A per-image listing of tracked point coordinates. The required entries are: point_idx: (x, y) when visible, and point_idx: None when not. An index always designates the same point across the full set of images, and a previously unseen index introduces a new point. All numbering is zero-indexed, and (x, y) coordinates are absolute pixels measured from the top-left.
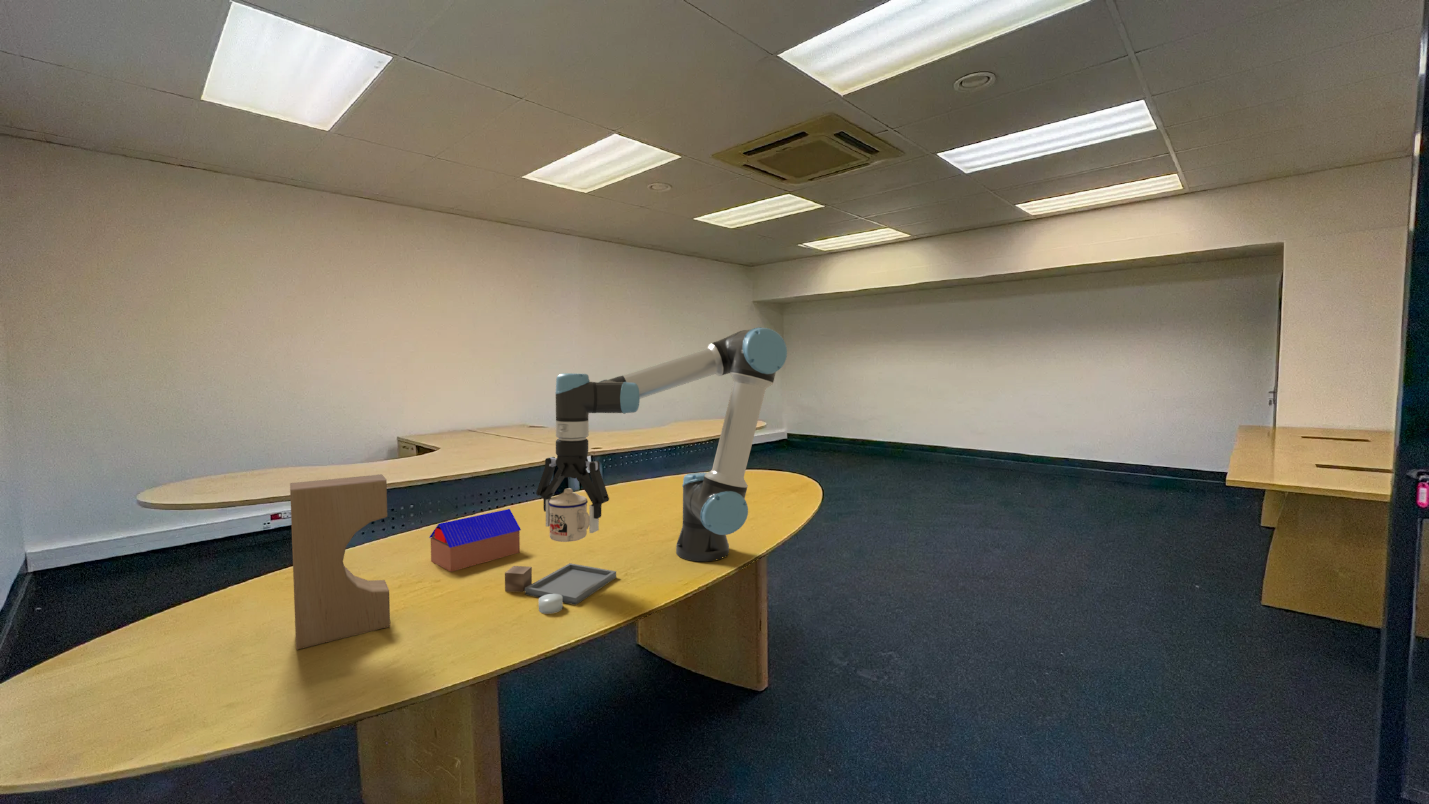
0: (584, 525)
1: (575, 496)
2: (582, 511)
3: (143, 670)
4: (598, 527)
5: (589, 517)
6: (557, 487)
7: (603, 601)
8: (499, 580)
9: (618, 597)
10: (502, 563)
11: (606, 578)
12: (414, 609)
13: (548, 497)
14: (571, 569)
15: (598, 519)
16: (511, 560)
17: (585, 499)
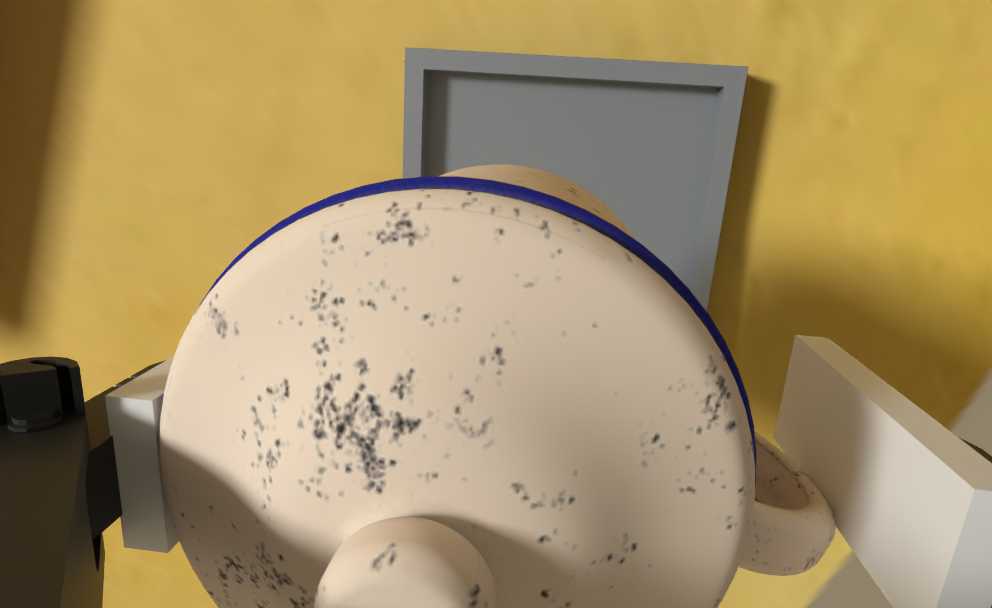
0: (754, 499)
1: (604, 593)
2: (760, 570)
3: None
4: (839, 349)
5: (838, 528)
6: (71, 545)
7: (787, 363)
8: (194, 304)
9: (846, 304)
10: (33, 109)
11: (727, 179)
12: (138, 598)
13: (105, 511)
14: (443, 84)
15: (882, 381)
16: (36, 51)
17: (739, 446)
